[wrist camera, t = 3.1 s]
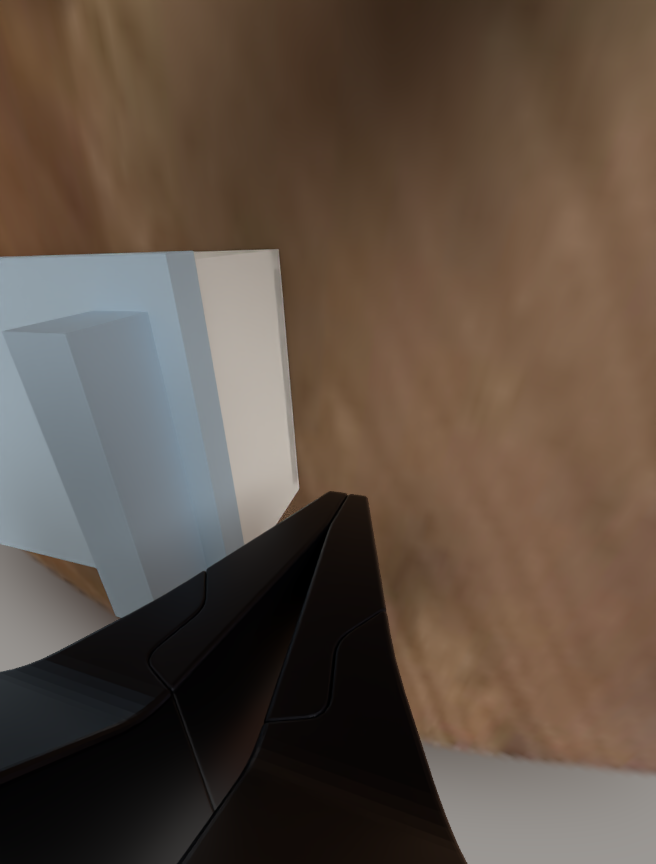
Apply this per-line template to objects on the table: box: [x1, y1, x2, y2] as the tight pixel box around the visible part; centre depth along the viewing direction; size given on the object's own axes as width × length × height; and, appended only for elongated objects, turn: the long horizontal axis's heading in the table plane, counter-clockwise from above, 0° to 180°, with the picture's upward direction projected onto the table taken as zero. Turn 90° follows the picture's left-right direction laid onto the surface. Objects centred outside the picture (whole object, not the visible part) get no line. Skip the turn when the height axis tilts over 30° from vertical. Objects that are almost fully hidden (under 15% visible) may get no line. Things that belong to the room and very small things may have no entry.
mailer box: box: [194, 249, 299, 545], centre depth 16 cm, size 14×10×5 cm
